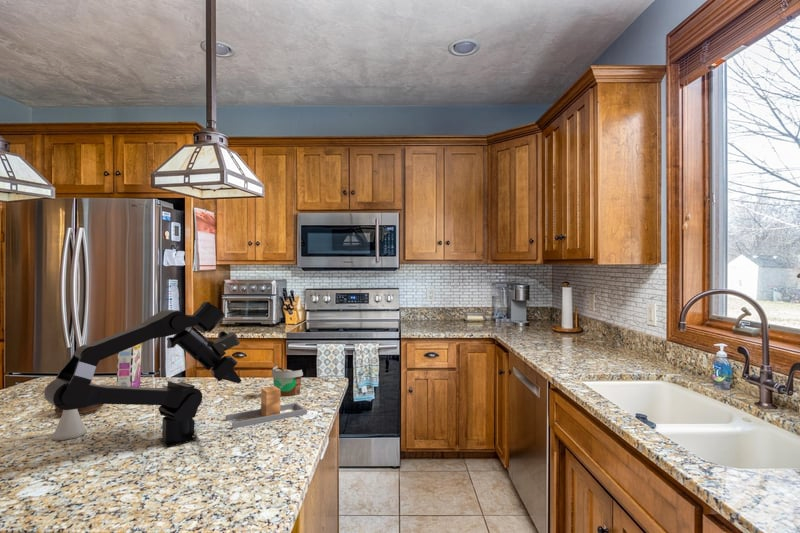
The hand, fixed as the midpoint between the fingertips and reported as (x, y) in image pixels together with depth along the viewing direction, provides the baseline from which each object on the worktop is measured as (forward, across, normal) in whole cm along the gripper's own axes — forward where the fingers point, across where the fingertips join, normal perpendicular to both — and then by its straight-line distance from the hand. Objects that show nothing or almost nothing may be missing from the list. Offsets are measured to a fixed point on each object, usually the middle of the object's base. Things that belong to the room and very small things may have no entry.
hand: (239, 381), depth 117 cm
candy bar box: (-7, +61, +25) cm, 66 cm away
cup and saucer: (-17, +40, +35) cm, 56 cm away
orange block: (+14, 0, +2) cm, 14 cm away
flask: (-18, +19, +36) cm, 44 cm away
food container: (+23, +19, -5) cm, 30 cm away
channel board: (+14, 0, +3) cm, 15 cm away
